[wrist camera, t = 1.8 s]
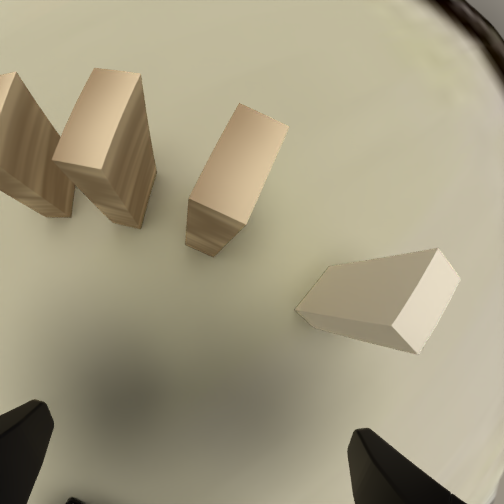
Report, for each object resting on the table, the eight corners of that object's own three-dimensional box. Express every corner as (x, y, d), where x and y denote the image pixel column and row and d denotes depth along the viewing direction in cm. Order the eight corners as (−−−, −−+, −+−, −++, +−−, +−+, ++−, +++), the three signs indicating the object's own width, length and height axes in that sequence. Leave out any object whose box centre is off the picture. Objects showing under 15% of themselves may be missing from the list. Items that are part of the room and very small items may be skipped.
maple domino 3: (237, 202, 22) (289, 127, 11) (213, 257, 21) (246, 224, 10) (210, 190, 21) (239, 103, 11) (185, 244, 21) (188, 198, 10)
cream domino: (347, 284, 23) (460, 278, 12) (314, 327, 22) (418, 354, 11) (329, 266, 23) (438, 247, 12) (294, 309, 22) (391, 325, 11)
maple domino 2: (156, 172, 21) (140, 73, 10) (140, 229, 20) (101, 169, 9) (129, 166, 20) (94, 67, 10) (112, 222, 20) (51, 159, 9)
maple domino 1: (78, 161, 20) (16, 71, 9) (71, 217, 19) (-13, 157, 8) (54, 162, 19) (-17, 79, 8) (46, 217, 19) (-45, 161, 8)
